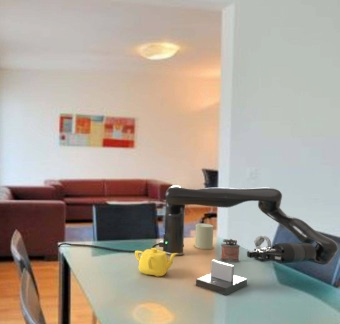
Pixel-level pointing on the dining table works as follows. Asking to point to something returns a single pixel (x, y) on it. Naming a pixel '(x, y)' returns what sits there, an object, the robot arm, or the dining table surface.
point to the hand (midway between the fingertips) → (248, 254)
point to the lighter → (230, 251)
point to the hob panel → (221, 284)
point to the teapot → (154, 261)
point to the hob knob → (222, 270)
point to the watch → (259, 241)
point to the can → (204, 236)
